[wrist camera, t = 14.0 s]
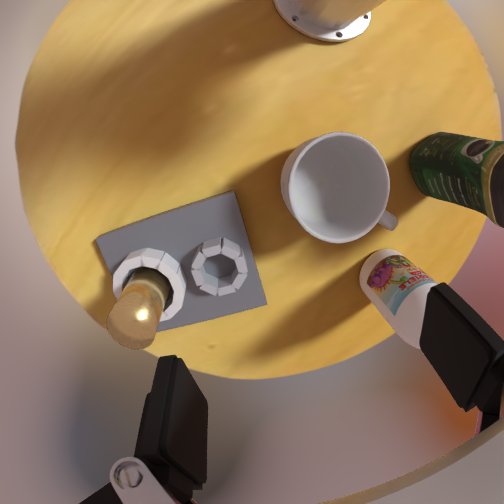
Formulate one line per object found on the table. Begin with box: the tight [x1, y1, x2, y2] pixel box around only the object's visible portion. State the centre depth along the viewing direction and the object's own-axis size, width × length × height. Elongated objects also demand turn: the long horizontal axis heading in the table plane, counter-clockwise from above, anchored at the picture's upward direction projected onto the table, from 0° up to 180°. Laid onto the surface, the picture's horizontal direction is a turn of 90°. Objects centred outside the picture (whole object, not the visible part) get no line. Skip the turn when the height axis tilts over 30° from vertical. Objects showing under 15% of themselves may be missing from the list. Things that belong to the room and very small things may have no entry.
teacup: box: [280, 132, 398, 243], centre depth 29 cm, size 14×11×8 cm
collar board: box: [96, 190, 267, 332], centre depth 33 cm, size 15×18×4 cm
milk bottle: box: [359, 249, 438, 349], centre depth 29 cm, size 8×8×20 cm
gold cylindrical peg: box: [106, 266, 171, 349], centre depth 29 cm, size 5×5×10 cm
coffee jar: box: [410, 132, 504, 228], centre depth 24 cm, size 10×8×19 cm
